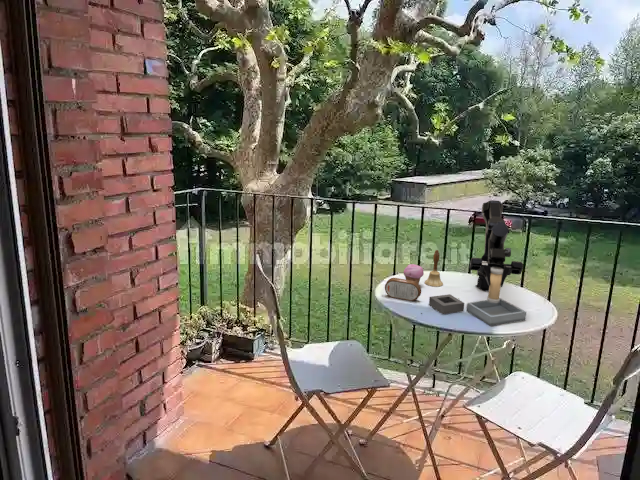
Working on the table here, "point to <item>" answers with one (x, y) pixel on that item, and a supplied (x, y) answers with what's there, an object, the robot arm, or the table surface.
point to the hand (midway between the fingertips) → (495, 286)
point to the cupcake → (413, 272)
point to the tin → (403, 289)
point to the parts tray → (496, 312)
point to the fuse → (495, 285)
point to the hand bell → (434, 273)
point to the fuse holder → (446, 304)
